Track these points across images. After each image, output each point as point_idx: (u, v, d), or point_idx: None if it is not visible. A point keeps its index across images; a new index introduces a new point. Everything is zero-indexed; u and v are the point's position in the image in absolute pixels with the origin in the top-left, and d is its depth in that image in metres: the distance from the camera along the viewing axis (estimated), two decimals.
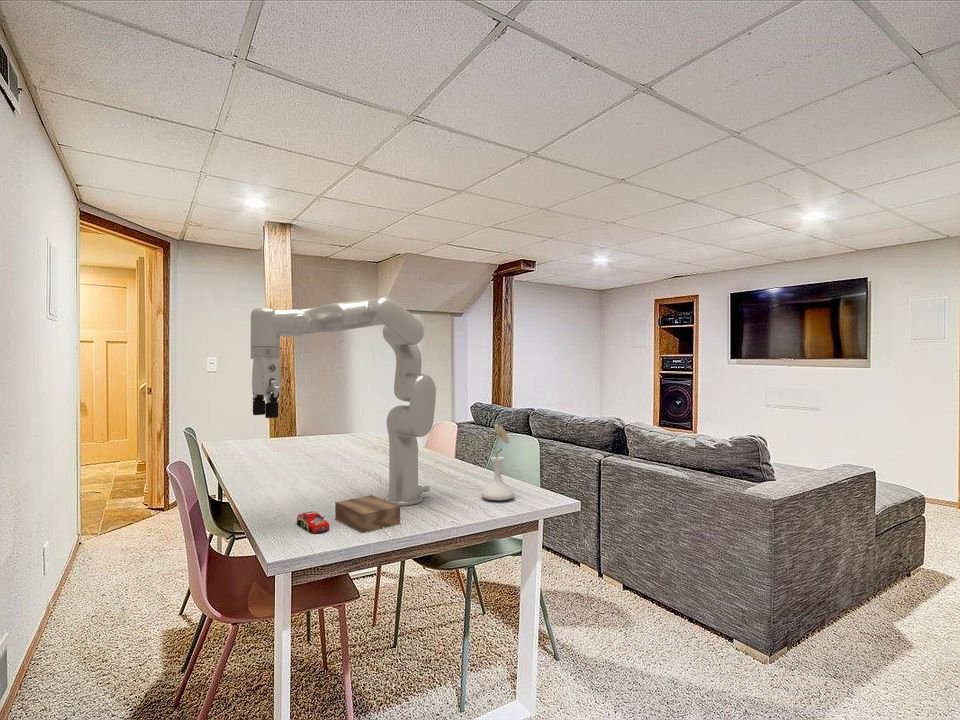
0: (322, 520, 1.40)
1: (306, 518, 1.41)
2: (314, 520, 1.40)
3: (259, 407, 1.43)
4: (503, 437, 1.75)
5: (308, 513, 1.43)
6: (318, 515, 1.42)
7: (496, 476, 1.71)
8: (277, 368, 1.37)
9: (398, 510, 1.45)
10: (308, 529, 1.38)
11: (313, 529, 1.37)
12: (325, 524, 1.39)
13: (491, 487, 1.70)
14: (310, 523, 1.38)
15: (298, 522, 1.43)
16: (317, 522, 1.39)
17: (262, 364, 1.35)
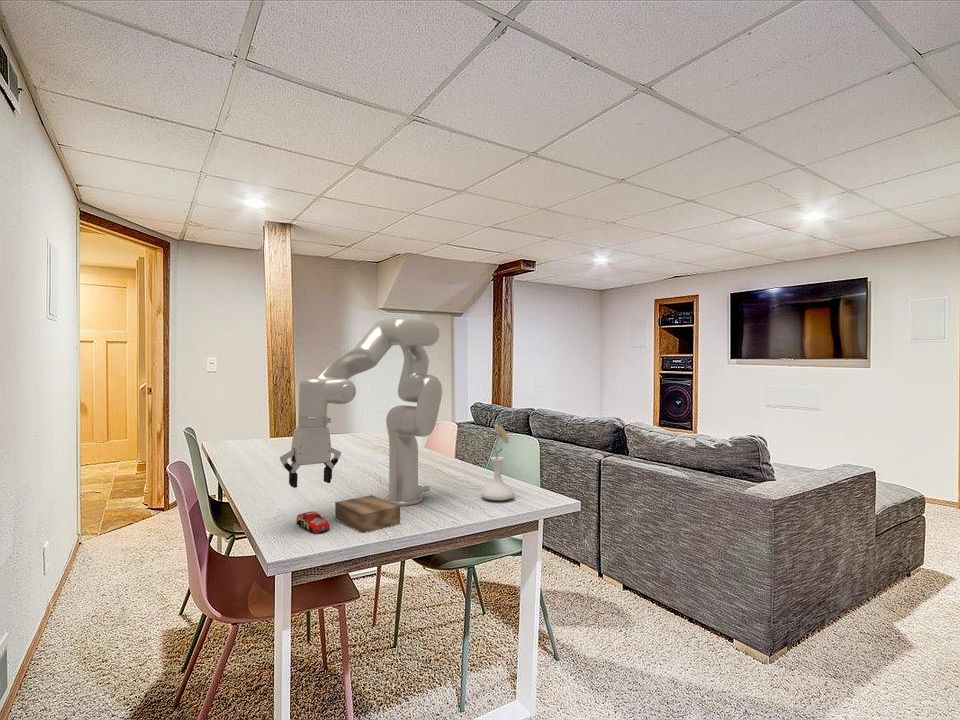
0: (322, 520, 1.40)
1: (306, 518, 1.40)
2: (314, 520, 1.40)
3: None
4: (503, 437, 1.75)
5: (308, 513, 1.43)
6: (318, 515, 1.42)
7: (496, 476, 1.71)
8: None
9: (398, 510, 1.45)
10: (308, 529, 1.38)
11: (313, 529, 1.37)
12: (325, 524, 1.39)
13: (491, 487, 1.70)
14: (310, 523, 1.38)
15: (298, 522, 1.43)
16: (317, 522, 1.39)
17: (328, 433, 1.43)
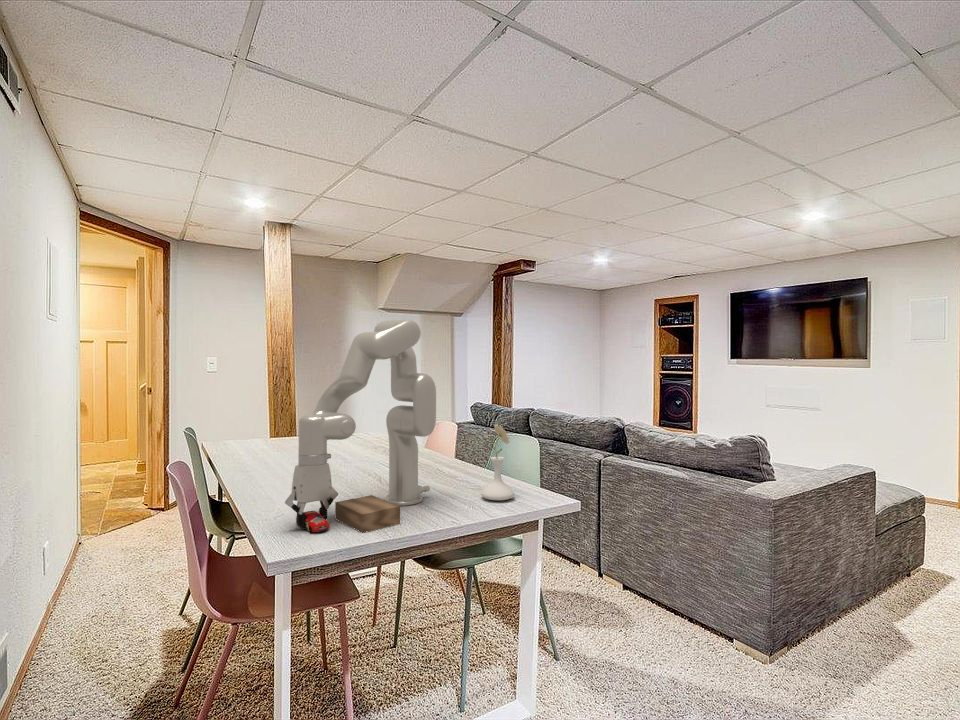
0: (322, 519, 1.40)
1: (306, 517, 1.40)
2: (314, 519, 1.40)
3: None
4: (503, 437, 1.75)
5: (308, 512, 1.43)
6: (318, 514, 1.42)
7: (496, 476, 1.71)
8: None
9: (398, 510, 1.45)
10: (308, 528, 1.38)
11: (313, 528, 1.36)
12: (325, 523, 1.38)
13: (491, 487, 1.70)
14: (310, 522, 1.38)
15: None
16: (317, 521, 1.39)
17: (328, 469, 1.43)
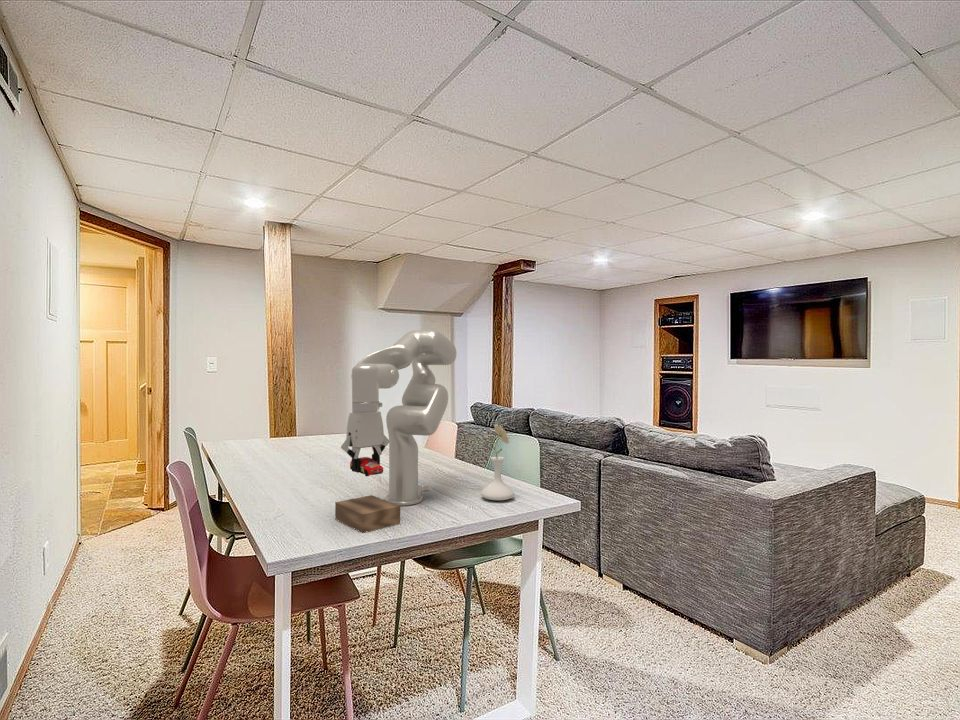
0: (376, 464, 1.46)
1: (360, 462, 1.46)
2: (368, 464, 1.45)
3: None
4: (503, 437, 1.75)
5: (361, 458, 1.48)
6: (371, 460, 1.47)
7: (496, 476, 1.71)
8: None
9: (398, 510, 1.45)
10: (363, 472, 1.44)
11: (369, 471, 1.42)
12: (379, 467, 1.44)
13: (491, 487, 1.70)
14: (365, 466, 1.44)
15: None
16: (371, 465, 1.44)
17: (380, 417, 1.48)
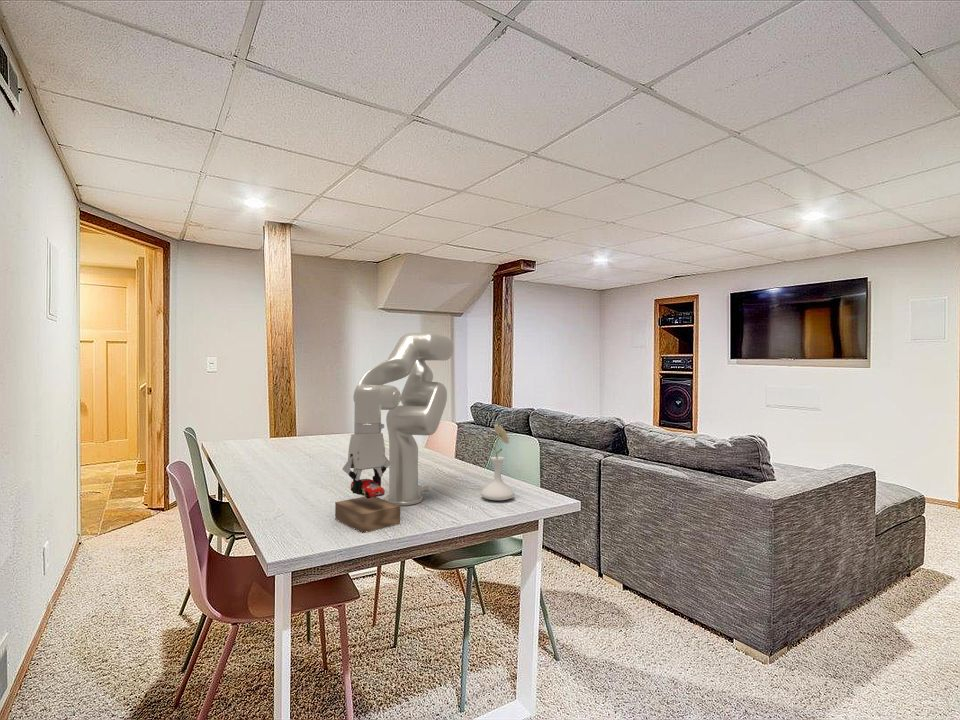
0: (377, 486, 1.45)
1: (362, 484, 1.45)
2: (370, 486, 1.45)
3: None
4: (503, 437, 1.75)
5: (363, 480, 1.48)
6: (372, 481, 1.47)
7: (496, 476, 1.71)
8: None
9: (398, 510, 1.45)
10: (364, 494, 1.43)
11: (370, 493, 1.42)
12: (381, 489, 1.44)
13: (491, 487, 1.70)
14: (366, 488, 1.43)
15: (352, 489, 1.48)
16: (373, 487, 1.44)
17: (382, 438, 1.48)
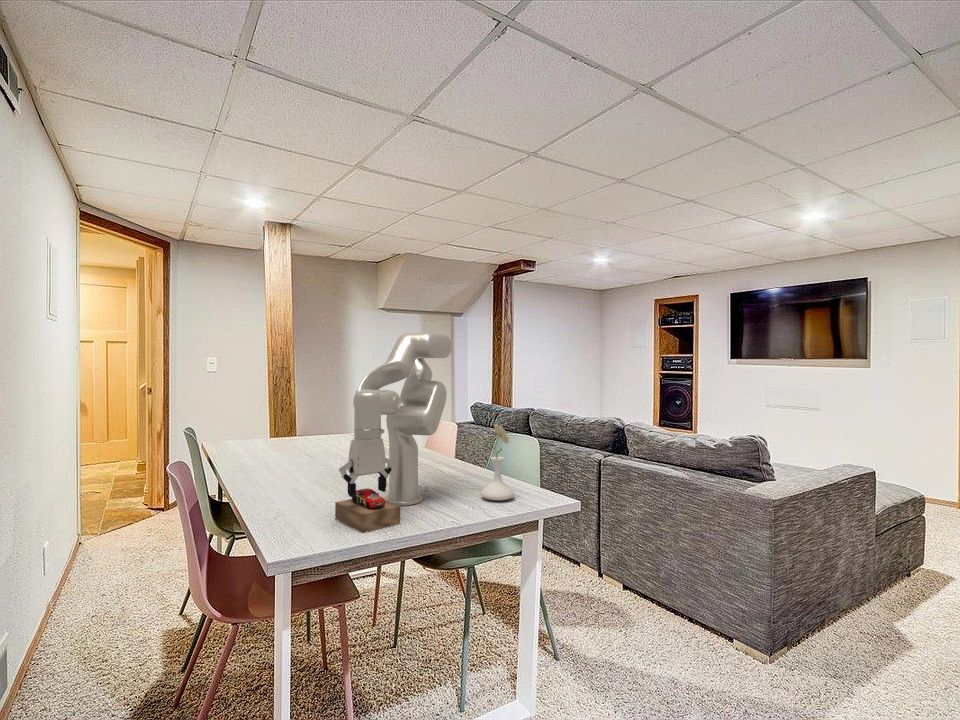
0: (378, 496, 1.46)
1: (362, 494, 1.46)
2: (370, 496, 1.45)
3: None
4: (503, 437, 1.75)
5: (363, 490, 1.48)
6: (373, 491, 1.47)
7: (496, 476, 1.71)
8: None
9: (398, 510, 1.45)
10: (365, 504, 1.44)
11: (370, 504, 1.42)
12: (381, 500, 1.44)
13: (491, 487, 1.70)
14: (367, 499, 1.44)
15: (353, 498, 1.49)
16: (373, 497, 1.44)
17: (382, 444, 1.48)
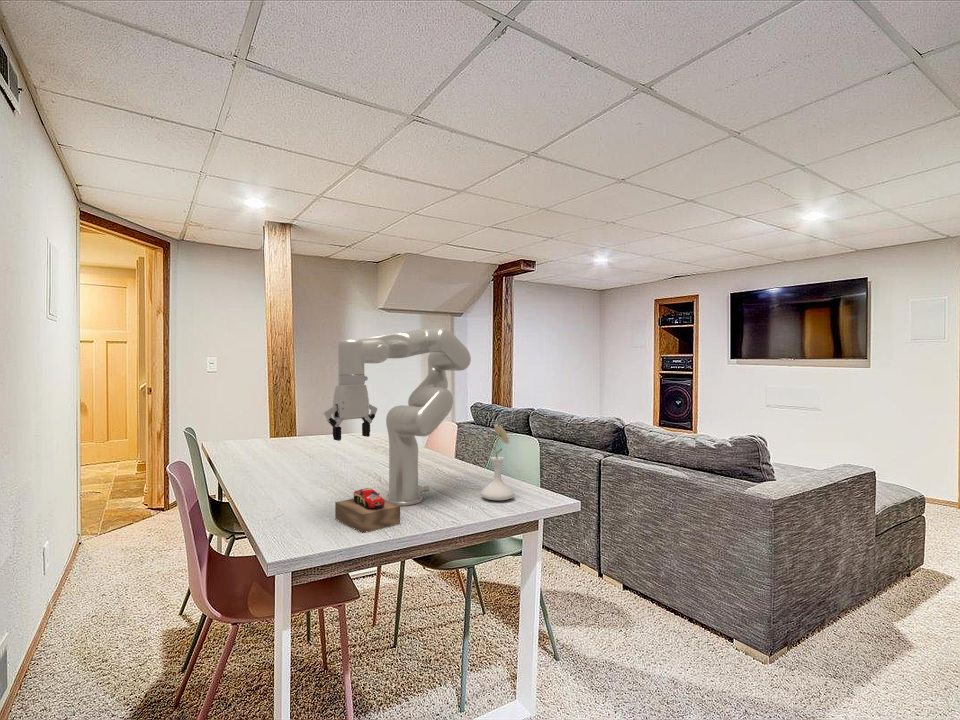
0: (377, 496, 1.45)
1: (362, 494, 1.46)
2: (370, 496, 1.45)
3: None
4: (503, 437, 1.75)
5: (364, 489, 1.48)
6: (374, 491, 1.47)
7: (496, 476, 1.71)
8: None
9: (398, 510, 1.45)
10: (364, 504, 1.44)
11: (369, 504, 1.42)
12: (380, 500, 1.43)
13: (491, 487, 1.70)
14: (366, 498, 1.44)
15: (355, 498, 1.49)
16: (373, 498, 1.44)
17: (366, 390, 1.53)
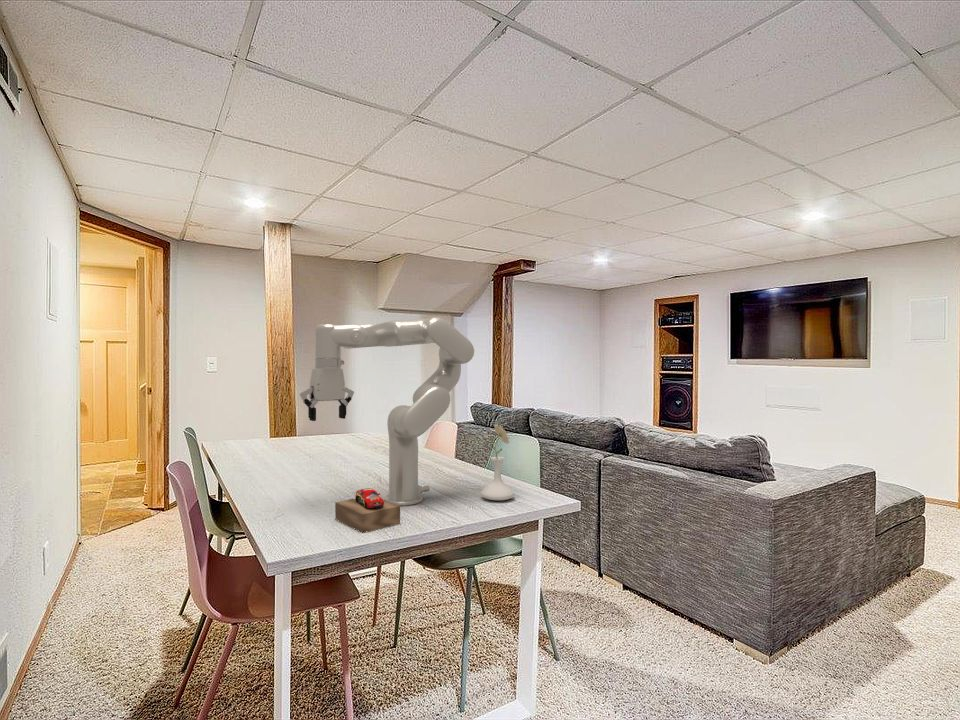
0: (377, 496, 1.45)
1: (363, 494, 1.46)
2: (370, 496, 1.45)
3: None
4: (503, 437, 1.75)
5: (365, 489, 1.48)
6: (374, 492, 1.47)
7: (496, 476, 1.71)
8: None
9: (398, 510, 1.45)
10: (364, 504, 1.44)
11: (368, 504, 1.42)
12: (379, 500, 1.43)
13: (491, 487, 1.70)
14: (366, 498, 1.44)
15: (356, 498, 1.50)
16: (372, 498, 1.44)
17: (342, 373, 1.59)
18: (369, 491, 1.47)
